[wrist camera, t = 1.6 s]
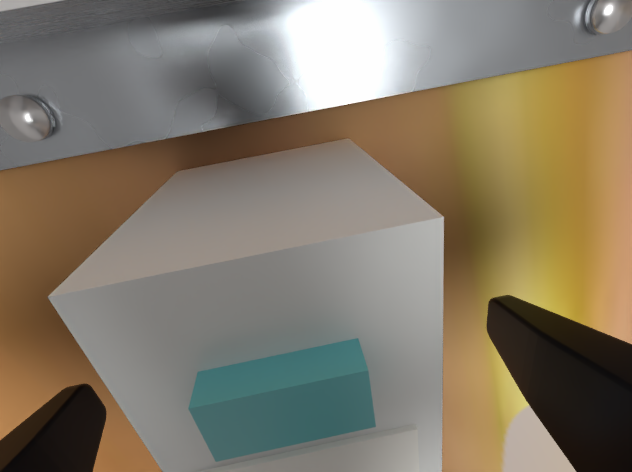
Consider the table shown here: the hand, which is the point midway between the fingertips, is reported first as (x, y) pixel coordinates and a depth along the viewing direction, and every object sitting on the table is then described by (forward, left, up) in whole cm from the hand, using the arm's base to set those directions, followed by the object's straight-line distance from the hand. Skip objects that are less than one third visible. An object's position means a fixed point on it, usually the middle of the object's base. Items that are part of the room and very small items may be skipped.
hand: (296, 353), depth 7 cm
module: (0, 0, -4) cm, 4 cm away
